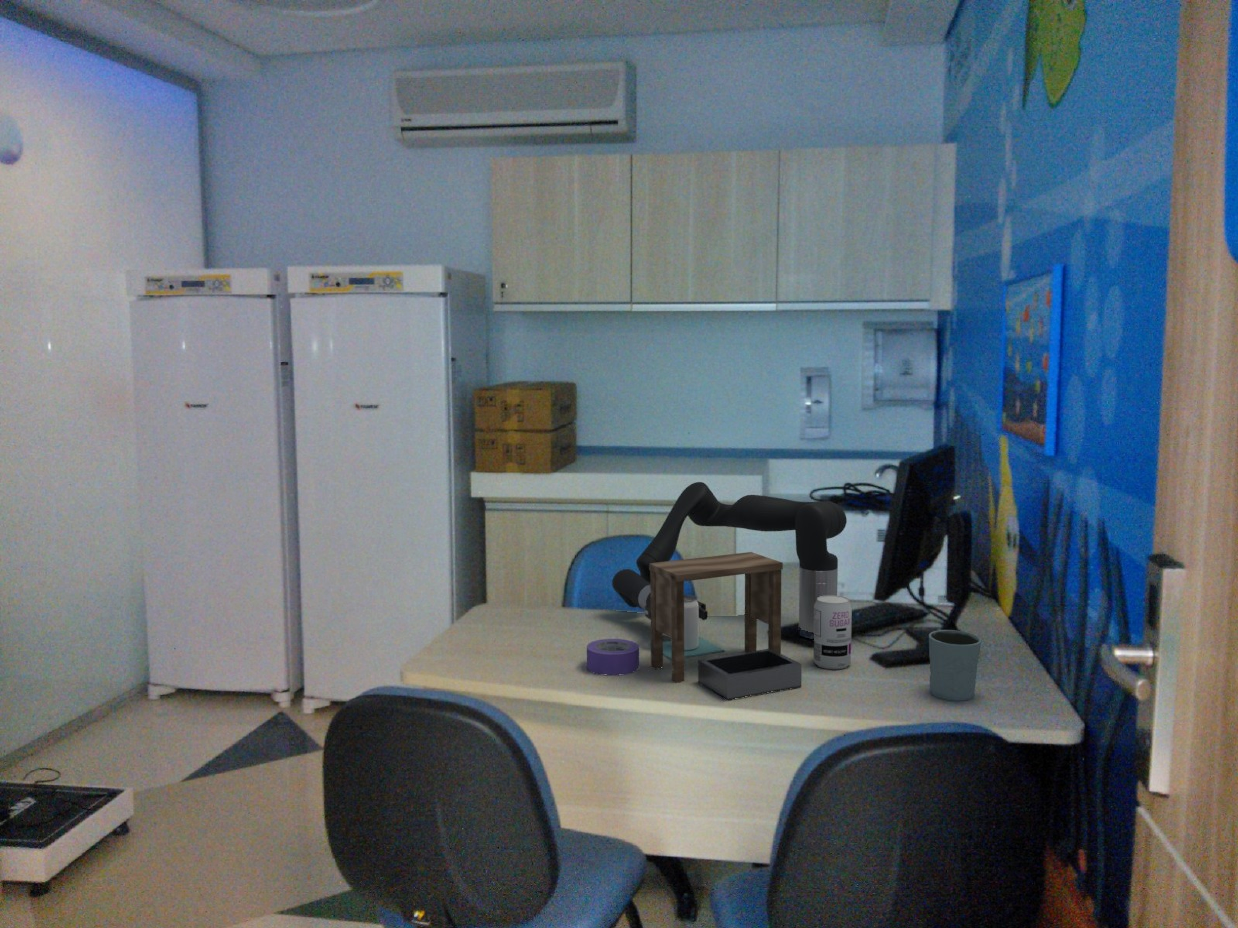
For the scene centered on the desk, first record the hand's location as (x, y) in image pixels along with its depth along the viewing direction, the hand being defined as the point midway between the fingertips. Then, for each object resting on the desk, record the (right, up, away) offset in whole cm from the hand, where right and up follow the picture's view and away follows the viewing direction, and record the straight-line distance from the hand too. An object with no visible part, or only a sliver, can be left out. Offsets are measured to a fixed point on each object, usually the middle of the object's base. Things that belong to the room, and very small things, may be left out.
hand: (689, 617), depth 230 cm
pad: (-1, -8, +3) cm, 8 cm away
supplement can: (+31, -9, -10) cm, 34 cm away
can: (-1, -8, +3) cm, 8 cm away
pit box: (+11, -11, -23) cm, 27 cm away
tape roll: (-18, -10, -10) cm, 23 cm away
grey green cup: (+52, -11, -29) cm, 61 cm away
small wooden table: (+5, -9, -10) cm, 15 cm away
